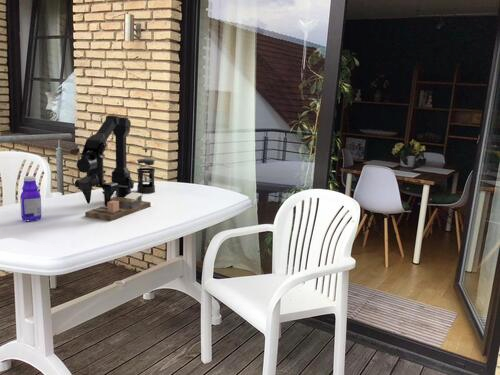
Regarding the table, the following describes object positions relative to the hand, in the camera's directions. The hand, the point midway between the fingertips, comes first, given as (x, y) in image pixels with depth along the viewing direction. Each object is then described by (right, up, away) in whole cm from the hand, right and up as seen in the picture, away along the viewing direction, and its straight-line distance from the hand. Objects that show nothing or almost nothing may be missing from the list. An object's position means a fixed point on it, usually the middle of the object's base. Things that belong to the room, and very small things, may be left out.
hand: (97, 204), depth 193 cm
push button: (+9, 0, +8) cm, 12 cm away
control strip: (+8, -3, +6) cm, 10 cm away
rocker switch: (+12, +3, +14) cm, 19 cm away
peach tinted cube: (+8, -3, -3) cm, 9 cm away
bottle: (-22, -6, -12) cm, 26 cm away
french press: (+10, +5, +46) cm, 48 cm away
